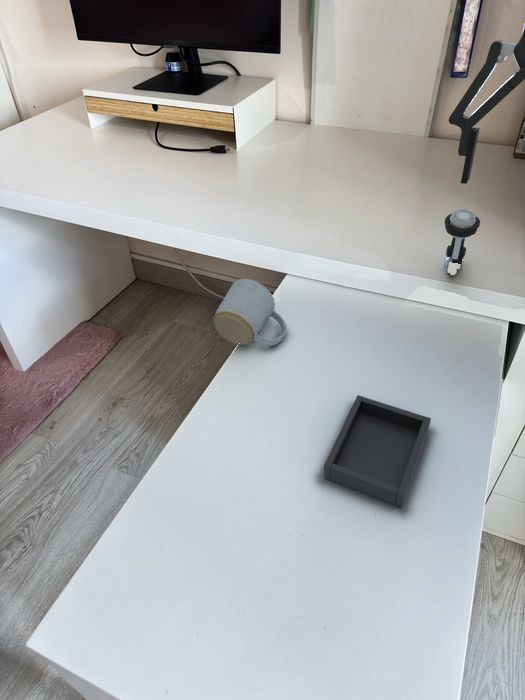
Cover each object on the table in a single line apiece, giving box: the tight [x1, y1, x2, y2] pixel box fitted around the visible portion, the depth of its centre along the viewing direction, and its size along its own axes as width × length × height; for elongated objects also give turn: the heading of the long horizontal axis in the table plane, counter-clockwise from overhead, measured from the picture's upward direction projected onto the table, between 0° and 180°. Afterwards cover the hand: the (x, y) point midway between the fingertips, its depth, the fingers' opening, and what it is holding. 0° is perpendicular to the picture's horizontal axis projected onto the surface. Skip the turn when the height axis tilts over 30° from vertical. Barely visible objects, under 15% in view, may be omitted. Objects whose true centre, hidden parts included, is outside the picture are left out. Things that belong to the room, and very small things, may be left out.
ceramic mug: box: [212, 278, 288, 347], centre depth 78 cm, size 11×8×8 cm
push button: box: [444, 209, 481, 264], centre depth 83 cm, size 7×5×10 cm
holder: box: [323, 394, 432, 509], centre depth 62 cm, size 10×12×3 cm
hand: (519, 186), depth 66 cm, fingers open, 13 cm apart
